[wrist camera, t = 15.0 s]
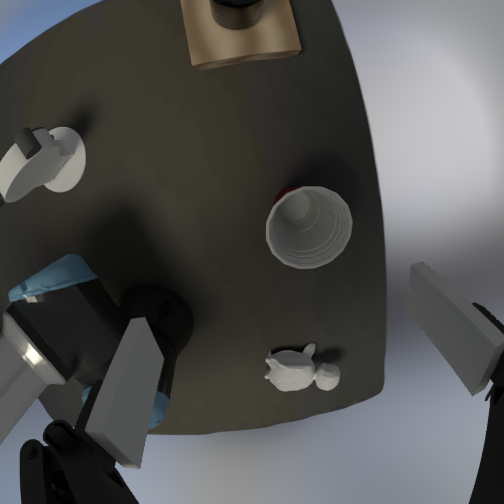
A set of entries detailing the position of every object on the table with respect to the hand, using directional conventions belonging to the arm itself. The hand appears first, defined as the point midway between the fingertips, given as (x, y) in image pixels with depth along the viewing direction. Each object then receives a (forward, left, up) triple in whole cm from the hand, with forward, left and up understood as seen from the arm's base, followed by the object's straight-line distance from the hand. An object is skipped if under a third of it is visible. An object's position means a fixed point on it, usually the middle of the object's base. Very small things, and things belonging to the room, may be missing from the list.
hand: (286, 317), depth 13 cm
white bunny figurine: (+4, -36, -33) cm, 49 cm away
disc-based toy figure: (-30, +13, -33) cm, 46 cm away
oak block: (+3, +27, -33) cm, 43 cm away
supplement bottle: (+3, +27, -29) cm, 40 cm away
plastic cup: (+6, -4, -33) cm, 34 cm away
